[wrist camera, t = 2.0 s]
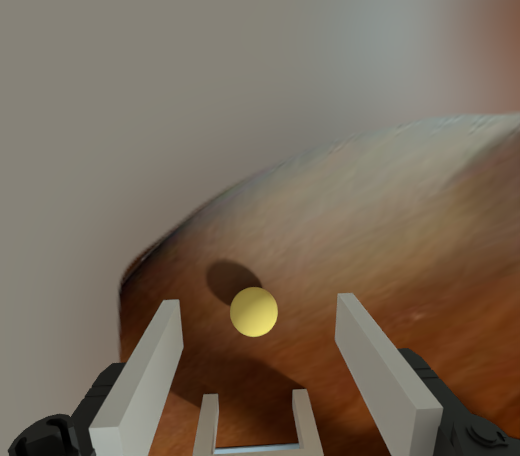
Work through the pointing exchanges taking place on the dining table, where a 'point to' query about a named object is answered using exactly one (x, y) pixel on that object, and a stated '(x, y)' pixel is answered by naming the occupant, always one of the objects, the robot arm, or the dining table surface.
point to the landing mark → (256, 448)
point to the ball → (253, 311)
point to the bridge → (308, 452)
